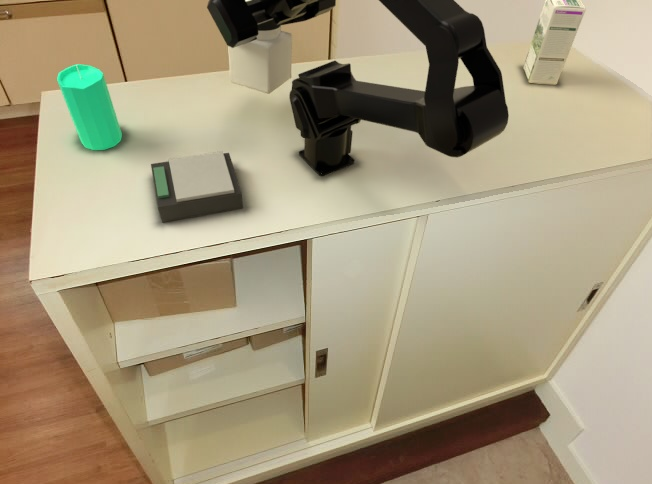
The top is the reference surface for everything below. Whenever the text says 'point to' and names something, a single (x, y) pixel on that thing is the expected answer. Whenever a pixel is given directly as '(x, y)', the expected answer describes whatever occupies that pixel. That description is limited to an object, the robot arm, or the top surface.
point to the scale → (196, 186)
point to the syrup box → (553, 40)
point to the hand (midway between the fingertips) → (251, 30)
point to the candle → (90, 106)
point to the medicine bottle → (262, 58)
